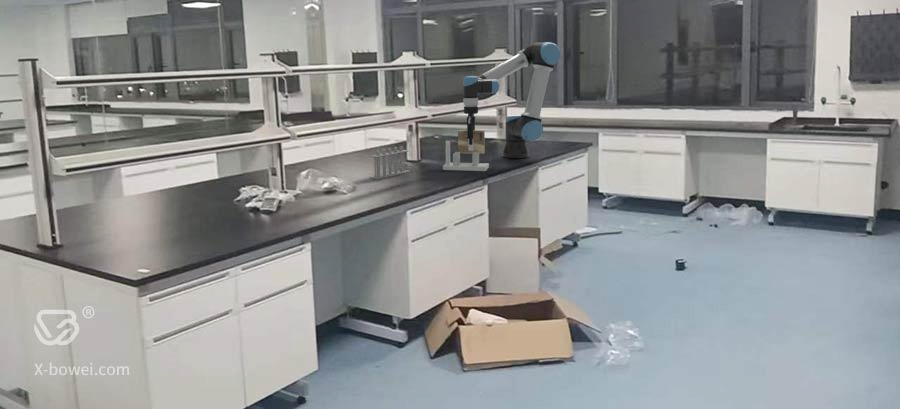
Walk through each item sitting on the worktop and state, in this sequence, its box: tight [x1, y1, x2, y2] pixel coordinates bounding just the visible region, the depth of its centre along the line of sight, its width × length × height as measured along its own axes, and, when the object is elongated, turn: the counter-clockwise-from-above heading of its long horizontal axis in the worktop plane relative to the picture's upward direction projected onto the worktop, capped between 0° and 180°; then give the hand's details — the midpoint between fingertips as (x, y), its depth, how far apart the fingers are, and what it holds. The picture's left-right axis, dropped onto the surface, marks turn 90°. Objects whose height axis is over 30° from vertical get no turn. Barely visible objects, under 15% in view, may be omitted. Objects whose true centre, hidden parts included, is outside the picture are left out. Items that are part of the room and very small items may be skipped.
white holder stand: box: [442, 140, 490, 172], centre depth 389 cm, size 12×22×14 cm, turn 79°
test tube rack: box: [369, 146, 410, 180], centre depth 371 cm, size 25×4×13 cm, turn 145°
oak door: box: [457, 129, 486, 155], centre depth 402 cm, size 4×14×12 cm, turn 79°
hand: (471, 150), depth 404 cm, fingers closed on oak door, 2 cm apart
